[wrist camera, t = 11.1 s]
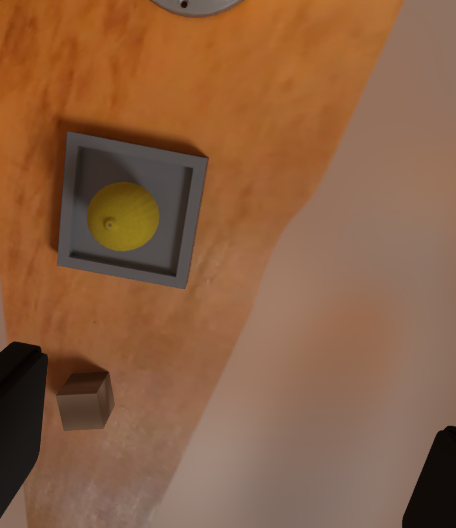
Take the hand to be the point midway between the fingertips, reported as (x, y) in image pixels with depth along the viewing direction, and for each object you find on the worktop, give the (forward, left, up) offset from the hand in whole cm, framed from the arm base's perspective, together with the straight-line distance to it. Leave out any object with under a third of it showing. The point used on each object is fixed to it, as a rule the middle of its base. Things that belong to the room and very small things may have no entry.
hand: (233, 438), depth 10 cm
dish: (+1, -10, -30) cm, 32 cm away
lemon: (+1, -9, -29) cm, 31 cm away
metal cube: (+21, -12, -30) cm, 39 cm away
